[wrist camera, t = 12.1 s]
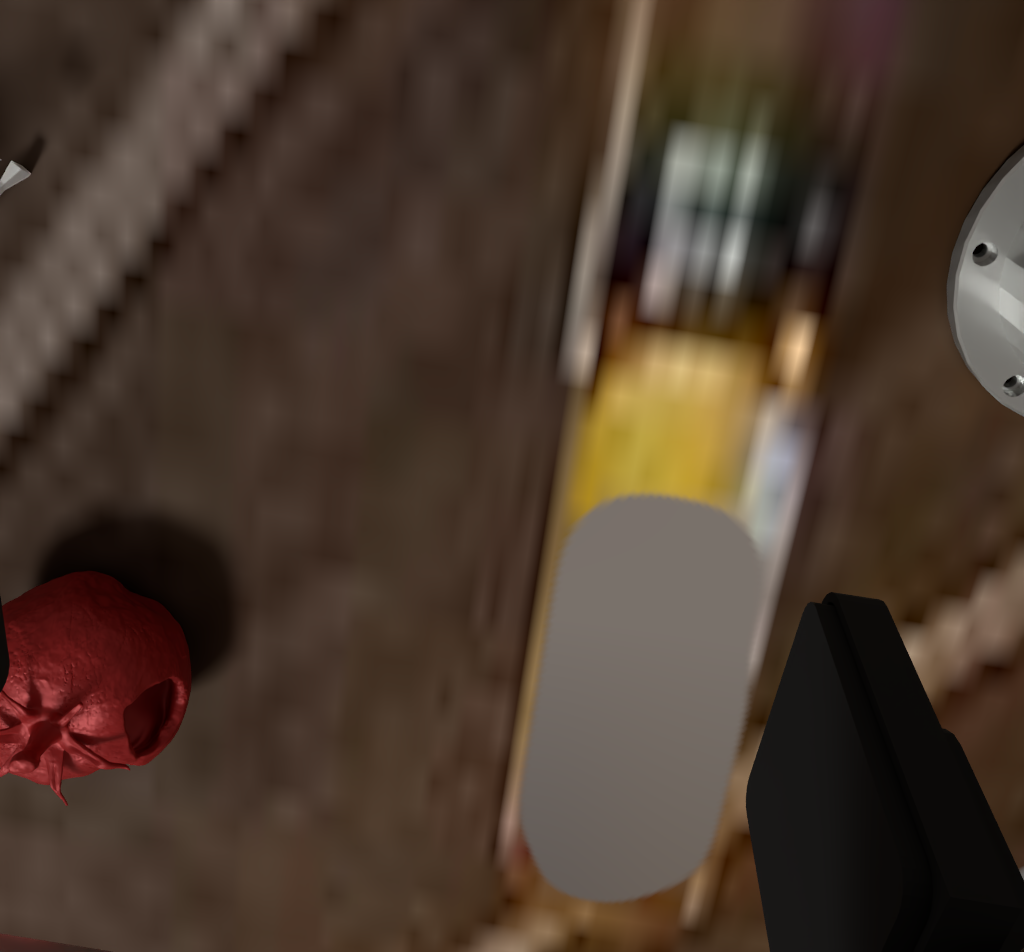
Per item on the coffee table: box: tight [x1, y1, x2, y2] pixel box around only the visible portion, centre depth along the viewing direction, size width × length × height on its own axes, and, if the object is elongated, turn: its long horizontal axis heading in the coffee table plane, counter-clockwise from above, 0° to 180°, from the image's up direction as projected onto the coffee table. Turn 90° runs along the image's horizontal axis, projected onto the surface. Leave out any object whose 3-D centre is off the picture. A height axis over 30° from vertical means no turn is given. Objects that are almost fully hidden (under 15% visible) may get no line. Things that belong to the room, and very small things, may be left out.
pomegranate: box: [0, 571, 192, 806], centre depth 44 cm, size 10×10×9 cm
